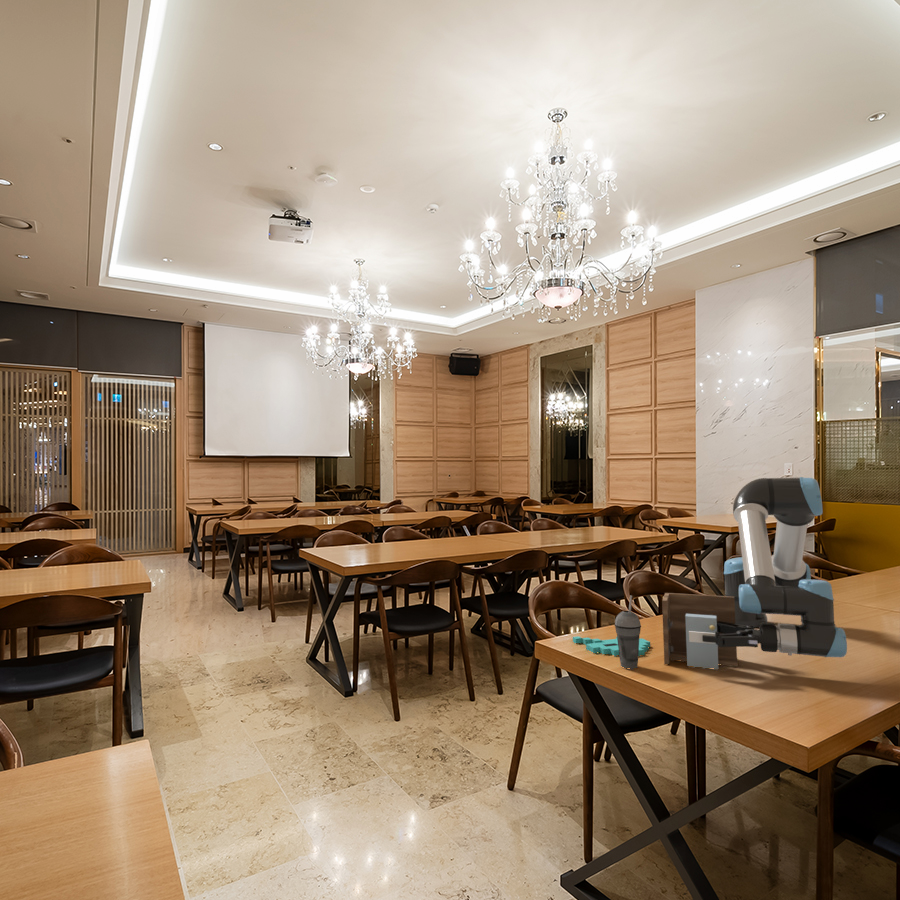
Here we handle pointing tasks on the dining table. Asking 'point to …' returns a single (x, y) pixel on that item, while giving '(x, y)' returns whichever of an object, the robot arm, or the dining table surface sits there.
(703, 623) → the door
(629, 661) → the beverage cup
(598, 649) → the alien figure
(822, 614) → the robot arm
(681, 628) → the cabinet
